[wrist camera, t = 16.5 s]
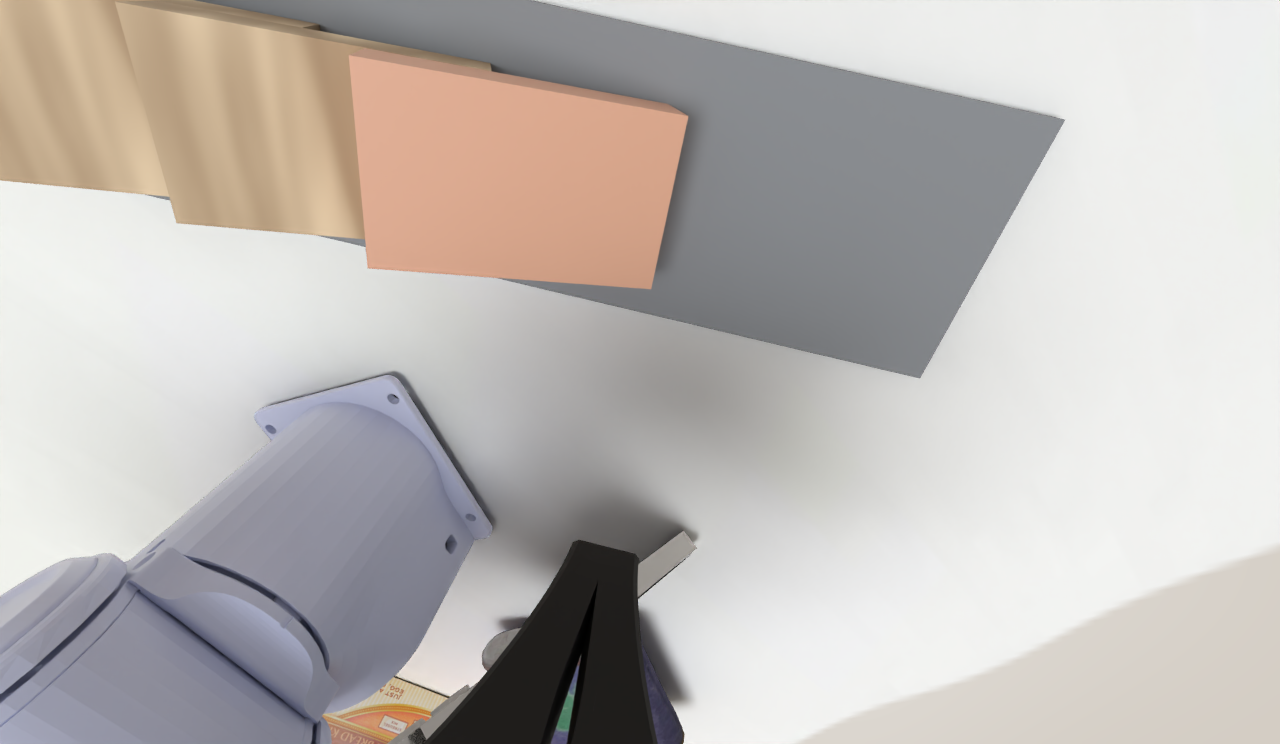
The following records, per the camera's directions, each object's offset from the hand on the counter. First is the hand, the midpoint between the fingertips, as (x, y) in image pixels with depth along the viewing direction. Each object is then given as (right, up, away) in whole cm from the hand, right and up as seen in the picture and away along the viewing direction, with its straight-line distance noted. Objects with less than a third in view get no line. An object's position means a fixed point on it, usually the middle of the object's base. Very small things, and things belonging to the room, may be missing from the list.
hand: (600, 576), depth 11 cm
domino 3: (+1, +10, +5) cm, 11 cm away
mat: (-5, +12, +6) cm, 14 cm away
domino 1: (-9, +12, +5) cm, 16 cm away
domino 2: (-4, +11, +5) cm, 13 cm away
